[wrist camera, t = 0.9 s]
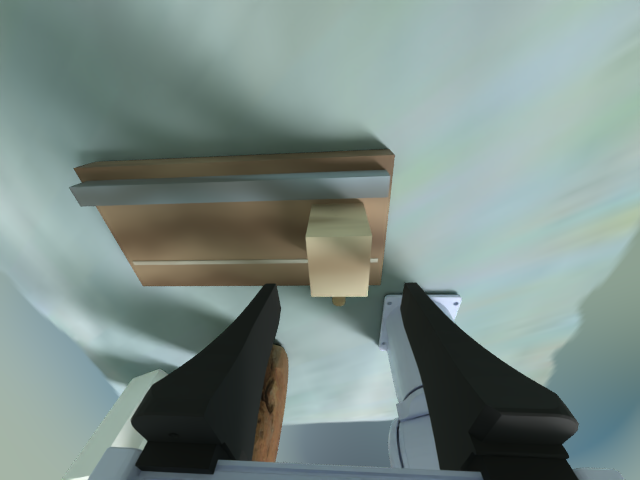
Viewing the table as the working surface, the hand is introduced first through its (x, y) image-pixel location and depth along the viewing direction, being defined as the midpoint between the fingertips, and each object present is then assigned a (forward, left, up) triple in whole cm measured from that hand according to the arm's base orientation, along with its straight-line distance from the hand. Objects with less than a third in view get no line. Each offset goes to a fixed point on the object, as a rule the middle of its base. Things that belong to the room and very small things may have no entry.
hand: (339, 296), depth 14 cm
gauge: (-2, 0, -7) cm, 8 cm away
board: (0, +8, -10) cm, 12 cm away
